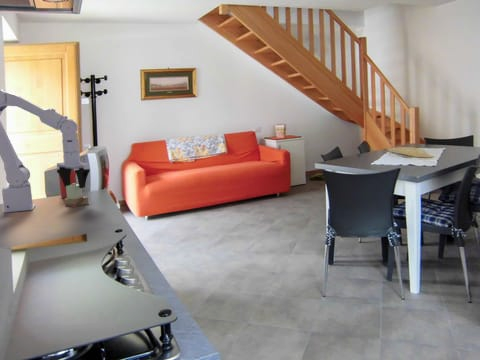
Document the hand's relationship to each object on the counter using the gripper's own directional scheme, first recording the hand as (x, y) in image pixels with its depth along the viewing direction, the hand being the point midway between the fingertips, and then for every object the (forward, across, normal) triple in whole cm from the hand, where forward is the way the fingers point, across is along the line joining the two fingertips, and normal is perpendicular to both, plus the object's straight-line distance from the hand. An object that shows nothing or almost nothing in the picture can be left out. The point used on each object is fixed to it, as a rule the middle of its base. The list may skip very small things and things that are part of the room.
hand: (74, 187), depth 162 cm
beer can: (+7, +14, -10) cm, 19 cm away
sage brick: (+4, 0, 0) cm, 4 cm away
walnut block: (+7, 0, 0) cm, 7 cm away
